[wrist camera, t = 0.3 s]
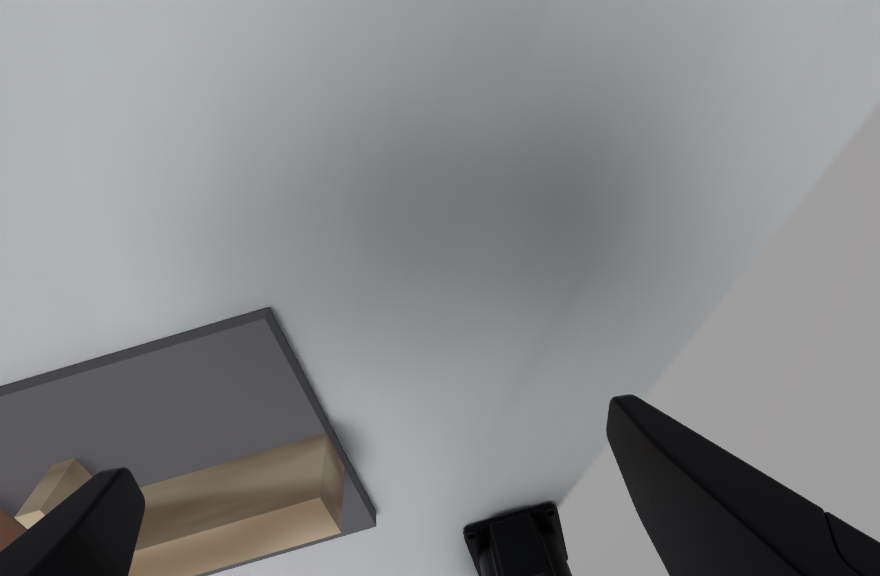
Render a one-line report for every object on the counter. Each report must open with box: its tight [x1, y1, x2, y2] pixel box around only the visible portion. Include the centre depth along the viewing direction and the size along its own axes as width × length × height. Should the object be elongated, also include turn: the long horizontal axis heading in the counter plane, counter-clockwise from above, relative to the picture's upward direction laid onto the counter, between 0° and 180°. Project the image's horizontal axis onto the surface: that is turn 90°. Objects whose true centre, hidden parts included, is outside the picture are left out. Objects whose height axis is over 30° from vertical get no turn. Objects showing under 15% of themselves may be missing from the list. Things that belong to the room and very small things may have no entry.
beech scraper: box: [14, 433, 345, 576], centre depth 25 cm, size 9×13×4 cm
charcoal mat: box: [0, 307, 376, 576], centre depth 26 cm, size 16×27×1 cm, turn 105°
